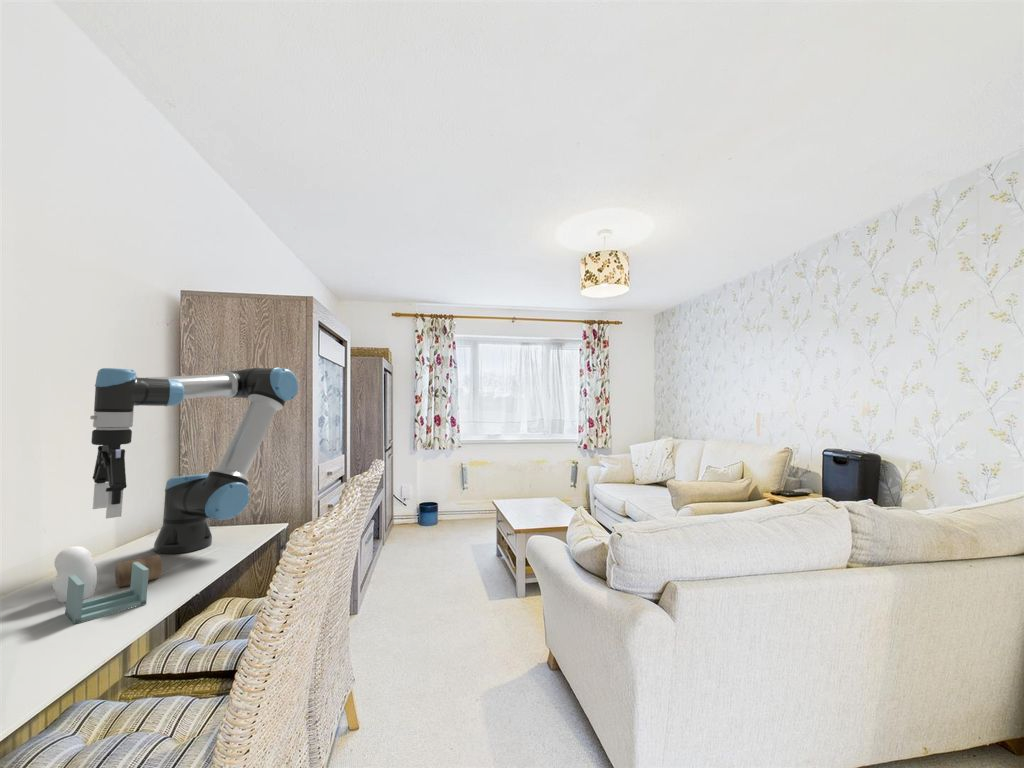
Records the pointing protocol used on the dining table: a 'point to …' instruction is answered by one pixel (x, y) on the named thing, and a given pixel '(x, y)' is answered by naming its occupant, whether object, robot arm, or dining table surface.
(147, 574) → the cradle
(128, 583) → the roll
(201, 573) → the dining table surface
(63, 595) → the figurine
